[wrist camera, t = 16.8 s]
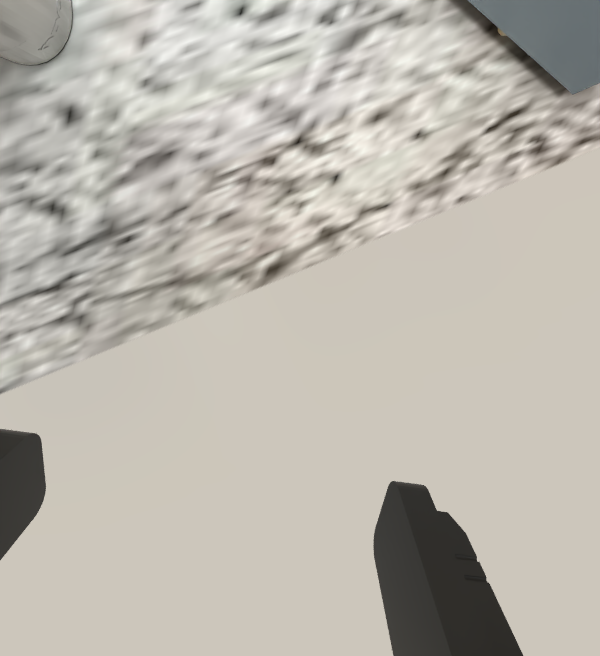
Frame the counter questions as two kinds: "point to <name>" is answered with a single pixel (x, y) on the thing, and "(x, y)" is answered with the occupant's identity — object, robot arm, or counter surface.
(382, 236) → the counter surface
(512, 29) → the cover
